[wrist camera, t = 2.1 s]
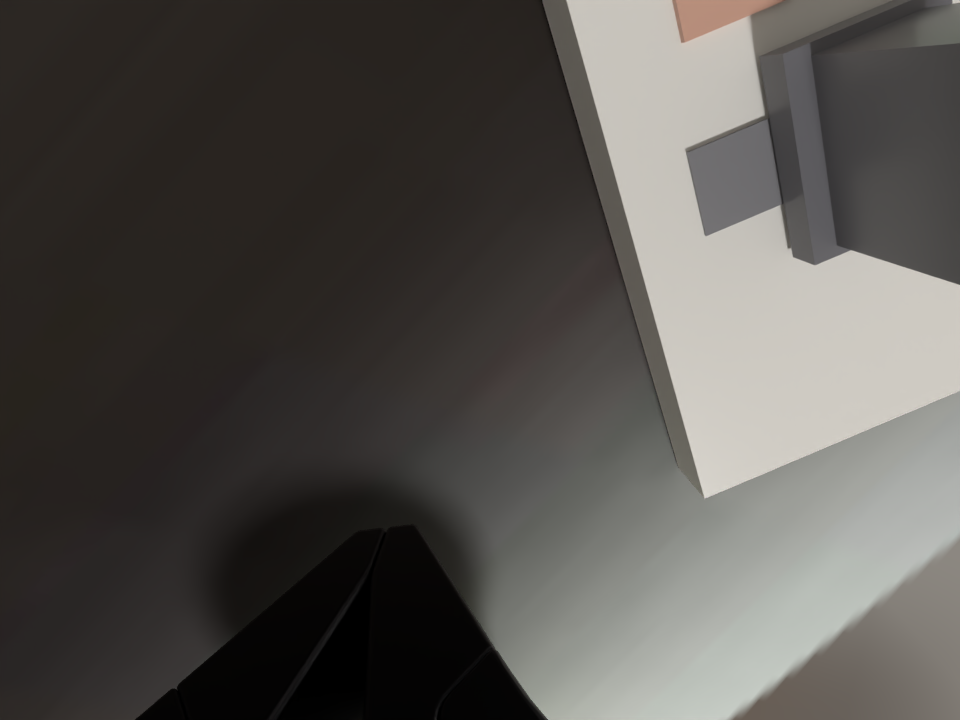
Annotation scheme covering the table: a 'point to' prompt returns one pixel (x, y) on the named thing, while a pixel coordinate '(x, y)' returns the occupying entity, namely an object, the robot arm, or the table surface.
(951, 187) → the handle
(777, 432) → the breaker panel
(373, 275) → the table surface
